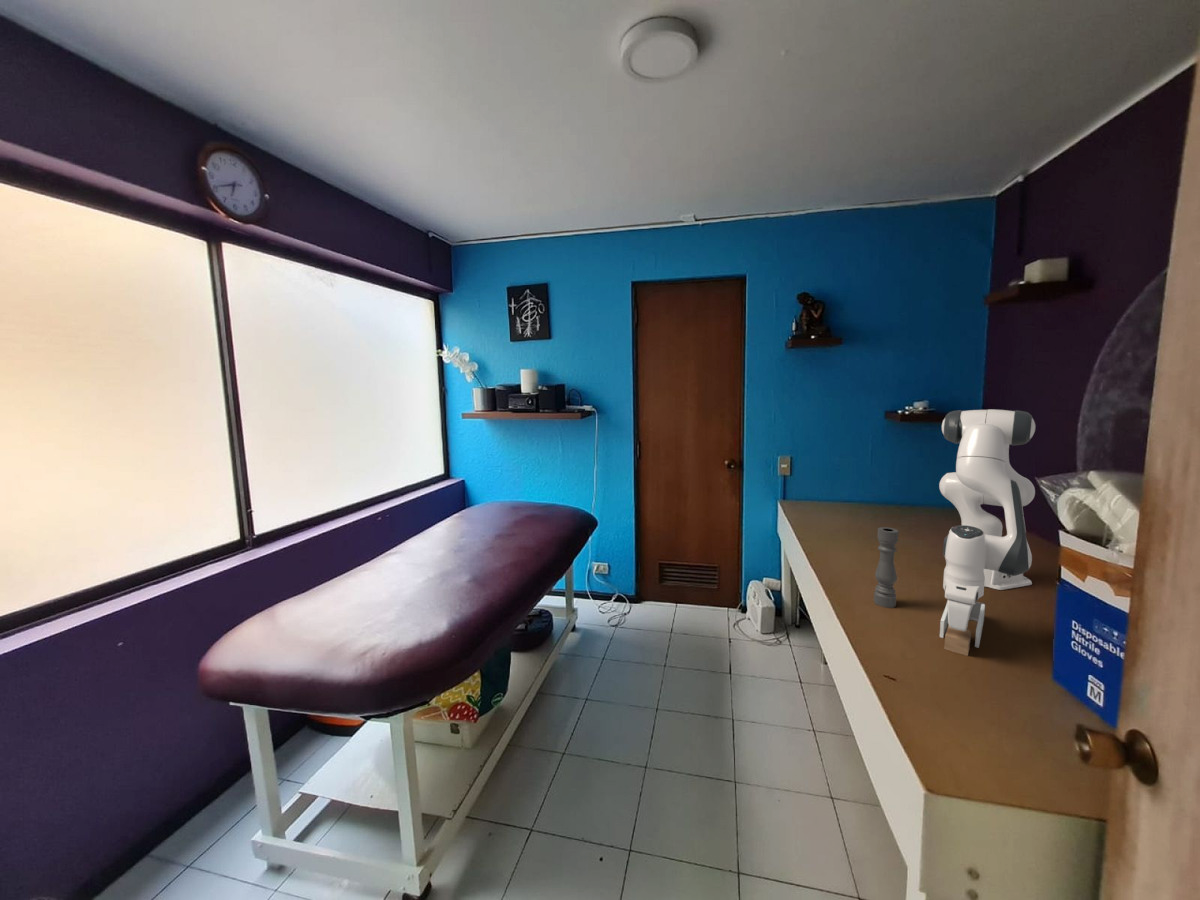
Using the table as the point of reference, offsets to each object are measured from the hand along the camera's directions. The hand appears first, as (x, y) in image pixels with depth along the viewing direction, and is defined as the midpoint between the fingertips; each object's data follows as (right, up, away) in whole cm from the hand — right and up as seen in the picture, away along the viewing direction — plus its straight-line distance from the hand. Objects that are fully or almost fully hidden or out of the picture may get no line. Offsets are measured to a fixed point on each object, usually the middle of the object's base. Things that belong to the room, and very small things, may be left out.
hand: (960, 632), depth 128 cm
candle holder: (-7, 0, +22) cm, 24 cm away
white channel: (+5, -1, +6) cm, 8 cm away
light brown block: (-3, -3, -3) cm, 5 cm away
